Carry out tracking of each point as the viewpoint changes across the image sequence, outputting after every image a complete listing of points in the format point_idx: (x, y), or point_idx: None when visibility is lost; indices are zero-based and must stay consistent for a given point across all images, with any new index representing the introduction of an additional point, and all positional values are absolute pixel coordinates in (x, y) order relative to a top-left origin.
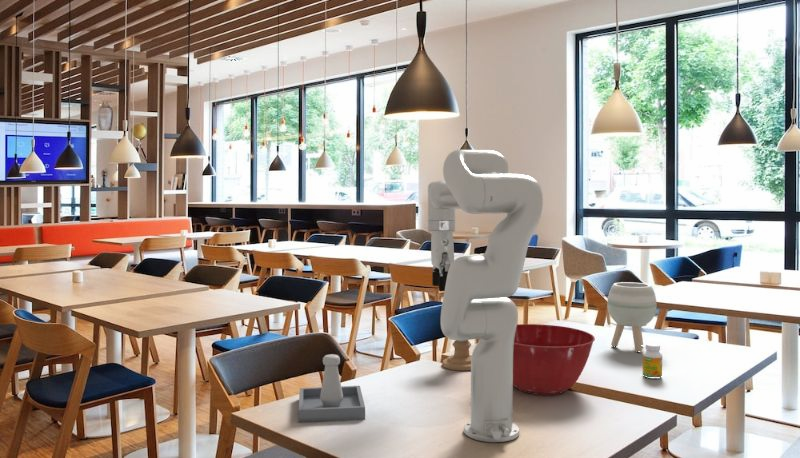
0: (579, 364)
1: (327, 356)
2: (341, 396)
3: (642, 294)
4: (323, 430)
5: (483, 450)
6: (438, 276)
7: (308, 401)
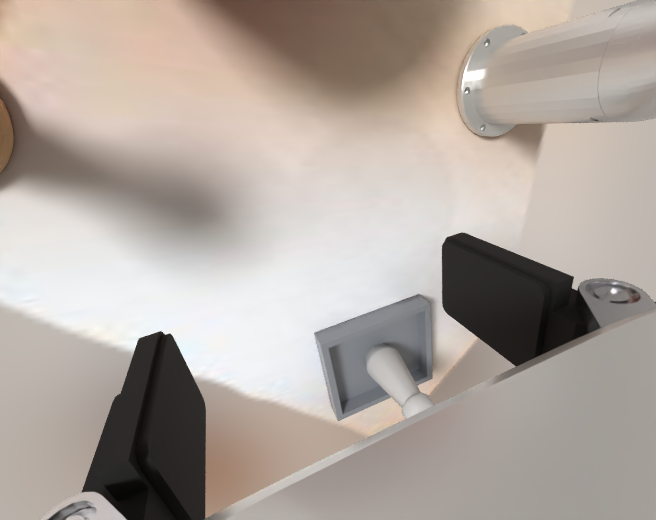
0: None
1: None
2: (393, 349)
3: None
4: (449, 330)
5: None
6: (184, 445)
7: (357, 389)
